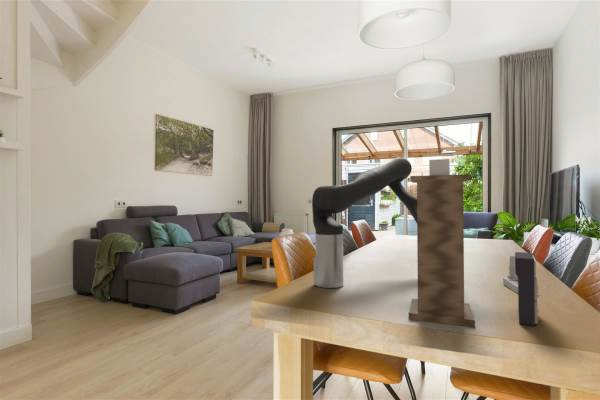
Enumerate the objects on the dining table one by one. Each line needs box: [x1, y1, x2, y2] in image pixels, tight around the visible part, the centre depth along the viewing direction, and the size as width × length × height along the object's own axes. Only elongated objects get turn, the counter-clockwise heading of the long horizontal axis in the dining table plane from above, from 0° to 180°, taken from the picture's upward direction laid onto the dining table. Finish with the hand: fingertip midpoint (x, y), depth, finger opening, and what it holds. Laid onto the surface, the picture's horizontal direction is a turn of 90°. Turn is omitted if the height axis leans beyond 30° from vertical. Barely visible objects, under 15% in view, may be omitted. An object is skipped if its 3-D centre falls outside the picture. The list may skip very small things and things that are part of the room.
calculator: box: [514, 251, 539, 327], centre depth 81 cm, size 11×4×15 cm, turn 148°
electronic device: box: [502, 255, 518, 294], centre depth 108 cm, size 5×10×15 cm
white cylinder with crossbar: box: [428, 158, 451, 176], centre depth 90 cm, size 21×4×4 cm, turn 159°
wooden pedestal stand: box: [408, 173, 476, 328], centre depth 84 cm, size 14×14×34 cm
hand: (437, 195), depth 106 cm, fingers open, 8 cm apart
